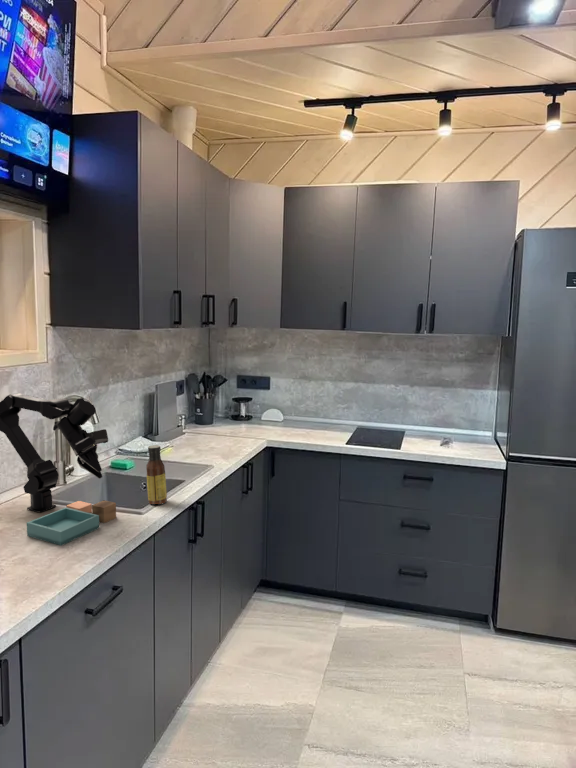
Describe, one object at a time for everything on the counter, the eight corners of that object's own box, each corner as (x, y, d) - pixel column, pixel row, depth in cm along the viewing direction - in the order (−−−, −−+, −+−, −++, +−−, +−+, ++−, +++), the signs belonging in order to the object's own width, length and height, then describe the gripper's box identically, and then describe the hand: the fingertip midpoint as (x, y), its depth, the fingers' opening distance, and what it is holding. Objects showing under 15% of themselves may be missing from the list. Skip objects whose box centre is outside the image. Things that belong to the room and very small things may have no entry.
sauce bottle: (168, 499, 187) (167, 443, 184) (164, 506, 181) (163, 448, 178) (149, 499, 187) (148, 443, 184) (145, 506, 181) (143, 448, 178)
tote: (27, 535, 156) (26, 522, 156) (66, 519, 168) (65, 507, 168) (61, 545, 150) (60, 532, 149) (99, 528, 162) (98, 515, 162)
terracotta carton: (66, 514, 174) (66, 505, 173) (79, 509, 178) (79, 500, 177) (79, 517, 171) (79, 508, 170) (92, 512, 175) (91, 504, 175)
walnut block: (92, 520, 168) (92, 505, 168) (104, 515, 173) (104, 500, 172) (104, 523, 166) (103, 507, 165) (116, 518, 170) (115, 502, 170)
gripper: (96, 411, 164) (124, 452, 161) (98, 429, 180) (123, 467, 178) (62, 429, 159) (90, 473, 156) (67, 446, 175) (92, 486, 173)
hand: (100, 474), depth 166 cm, fingers open, 9 cm apart
